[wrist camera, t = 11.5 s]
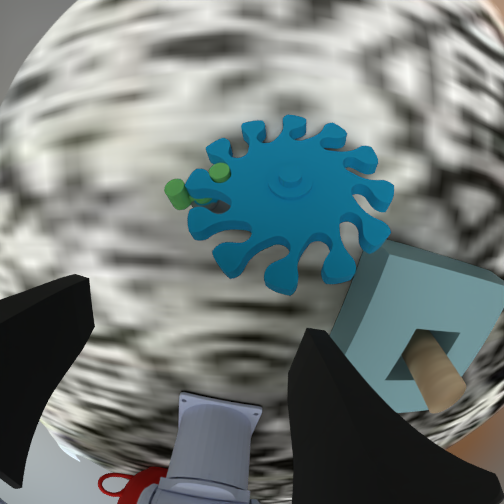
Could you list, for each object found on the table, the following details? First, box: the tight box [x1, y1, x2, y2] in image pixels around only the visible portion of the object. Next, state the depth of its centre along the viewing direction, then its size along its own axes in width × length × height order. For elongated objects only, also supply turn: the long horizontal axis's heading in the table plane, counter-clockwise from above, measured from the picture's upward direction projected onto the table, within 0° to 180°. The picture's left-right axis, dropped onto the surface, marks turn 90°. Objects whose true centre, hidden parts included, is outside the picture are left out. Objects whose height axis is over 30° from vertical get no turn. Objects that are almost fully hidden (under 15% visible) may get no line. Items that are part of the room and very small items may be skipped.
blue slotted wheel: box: [164, 115, 394, 296], centre depth 14 cm, size 11×6×10 cm
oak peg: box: [401, 329, 466, 413], centre depth 16 cm, size 3×3×8 cm
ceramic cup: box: [98, 467, 168, 504], centre depth 28 cm, size 13×17×10 cm
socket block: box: [330, 239, 504, 413], centre depth 18 cm, size 14×14×4 cm
